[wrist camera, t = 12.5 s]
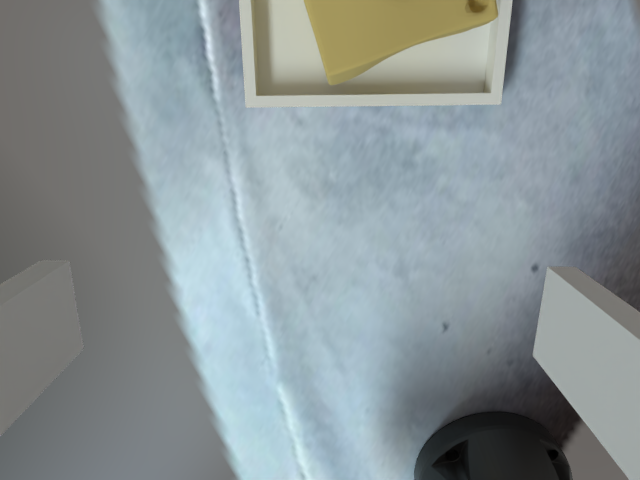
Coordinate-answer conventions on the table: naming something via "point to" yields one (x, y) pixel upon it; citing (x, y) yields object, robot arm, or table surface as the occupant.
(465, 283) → the table surface
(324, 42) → the cheese
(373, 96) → the serving tray
